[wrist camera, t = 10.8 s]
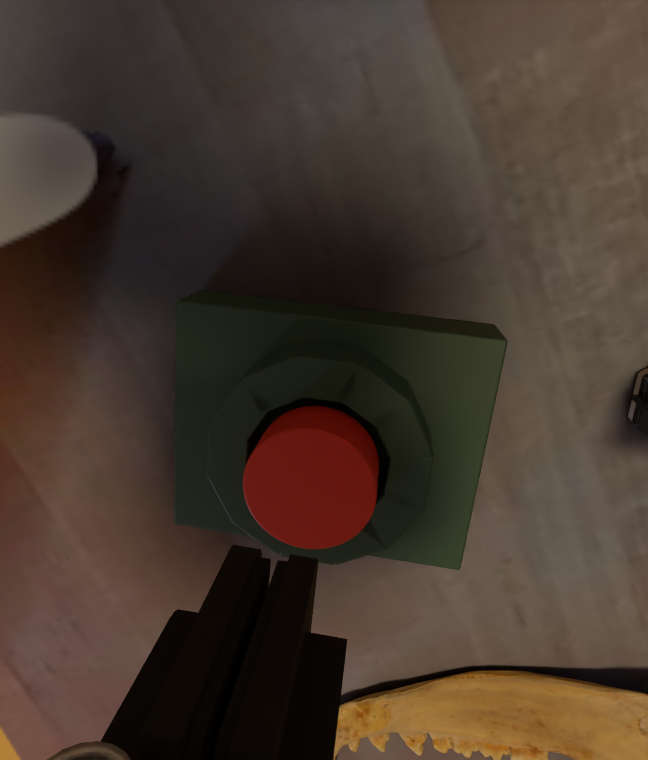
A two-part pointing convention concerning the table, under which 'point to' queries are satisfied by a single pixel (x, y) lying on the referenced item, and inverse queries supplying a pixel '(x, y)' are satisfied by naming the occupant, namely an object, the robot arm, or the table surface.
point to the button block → (341, 392)
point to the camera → (640, 402)
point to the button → (313, 478)
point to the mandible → (503, 717)
